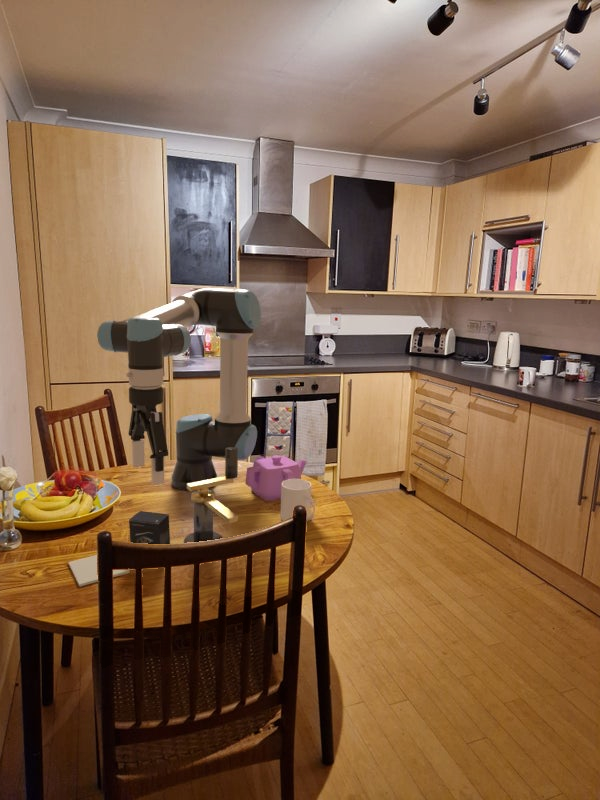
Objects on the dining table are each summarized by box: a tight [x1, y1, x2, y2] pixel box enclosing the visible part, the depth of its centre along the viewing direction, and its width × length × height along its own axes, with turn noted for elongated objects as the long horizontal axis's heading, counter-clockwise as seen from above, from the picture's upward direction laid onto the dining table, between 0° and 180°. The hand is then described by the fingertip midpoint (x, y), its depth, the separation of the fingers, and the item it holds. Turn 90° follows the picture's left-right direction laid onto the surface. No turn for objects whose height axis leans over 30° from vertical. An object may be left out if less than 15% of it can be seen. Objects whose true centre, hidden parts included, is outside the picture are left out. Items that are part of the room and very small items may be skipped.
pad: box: [68, 554, 131, 588], centre depth 120 cm, size 11×11×1 cm
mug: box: [280, 478, 316, 522], centre depth 148 cm, size 9×12×11 cm
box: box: [128, 510, 171, 545], centre depth 125 cm, size 8×6×11 cm
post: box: [183, 501, 224, 544], centre depth 133 cm, size 10×10×12 cm
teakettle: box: [245, 455, 307, 502], centre depth 168 cm, size 17×17×12 cm
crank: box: [187, 447, 239, 524], centre depth 127 cm, size 14×19×12 cm
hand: (147, 474), depth 122 cm, fingers open, 13 cm apart
